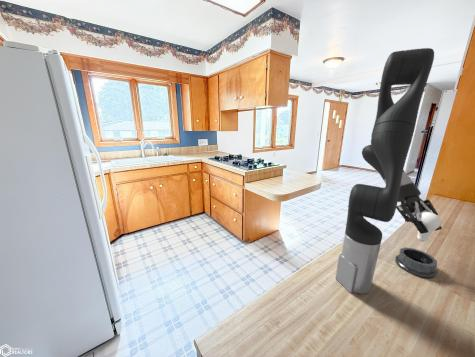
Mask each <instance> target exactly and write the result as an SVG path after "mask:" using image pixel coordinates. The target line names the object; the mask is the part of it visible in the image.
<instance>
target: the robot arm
mask: <svg viewBox="0 0 475 357" xmlns="http://www.w3.org/2000/svg"><path fill="white" fill-rule="evenodd" d="M434 60H435V50H434V49H433V48H431V47H430V48H429V47H425V48H414V49H413V48H412V49H406V50H396V51H392V52H391V53H390V54H389V55H388V57H387V59H386V61H385V62H384V66H383V70H382V75H381V81H380V87H379V92H378V100H377V110H376V116H375V121H374V123H373V124H374V125H373V128H372V132H371V136H370V137H371V139H370V144H368V145H365V146H364V147H363V148H362V151H361V155H362V158H363V160H364V161H365V162H366V163H367V164H369V165H370V166H371V167H372V168H373V169H375V171H377V172H378V173H379V176H380V177H381V179H382V180H383V181H384V184H385V187H380V186H375V185H371V184H370V185H369V184H364V183H356V184H354V185H353V186H352V188H351V190H350V193H349V197H348V206H347V216H346V224H345V230H344V231H345V232H344V237H343V244H342V250H341V254H339V255H338V260H337V267H336V273H335V280H337V281H338V283H340V284H341V285H342V286H343V287H344V288H345V290H347V291H348V292H349V293H350V294H352V293H355V294H360V295H364V294H368V293H369V292H370V291H371V290H372V289H371V288H372V284H373V279H374V275H375V270H376V266H377V261H378V258H379V254H380V253H379V252H380V249H381V244H382V241H383V233H382V230H381V229H380V228H379V227H378V226H376V225H375V224H374V223H371V222H370V221H368V220H367V218H368V219H372V220H376V221H379V222H383V223H389V222H390V221H391V220H393V218H394V215H395V213H396V210H397V211H398V213H400V215H401V216H402V218H403V220H404V221H405V222H407V223H411V224H413V225H414V227H415V228H416V230H417V232H418V231H419V232H420V233H421V234H423V233H428V230H427V228H426V227H425V225H424V224H423V223H422V221H421V219H420V216H419V215H420V213H421V212H432V213H434V214H436V215H437V216H438V215H439V213H438V212H437V210H436V208H435V206H434V205H433V204H432V202H431V201H430V199H425V200H423V199H422V198H421V197H420V196H421V195H422V192H421V190H420V189H419V188H418V187H417V185H416V184H415V182H414V181H413V179H412V178H411V177H410V176H409V175H408V174H407V173H406V171H405V170H404V168H405V165H406V160H407V157H408V153H409V150H410V148H411V147H410V146H411V144H412V141H413V136H414V132H415V130H416V125H417V124H416V123H417V119H418V115H419V109H420V104H421V102H422V97H423V94H424V92H425V89H426V86H427V82H428V79H429V76H430V73H431V71H432V67H433V63H434ZM405 85H407V86H408V85H410V86H409V87H408V89H407V91H406V92H405V93H404V94H403V95H402V96H401V97H400V98H399V99H398V100H397V101H396V102H395V103H394V101H393V97H392V86H405ZM398 203H400V204H398ZM415 217H416V218H415ZM442 228H443V227H442V226H441V225H440V226H439V227H438V228H437V229H436V230H434V231H435V232H436V231H440V230H442Z"/></svg>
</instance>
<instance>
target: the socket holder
mask: <svg viewBox="0 0 475 357" xmlns="http://www.w3.org/2000/svg"><path fill="white" fill-rule="evenodd" d="M394 261H395V264H396V265H397V266H398V267H399V268H401V270H403V271H405V272H407V273H408V274H410V275H413V276H415V277H418V278H422V279H427V280H429V279H434V278H437V275H438V270H437V266H438V261H437V259H435V258H434V257H433V256H432V255H431V254H429V253H427V252H425V251H423V250H419V249H417V248H413V247H401V248H400V250H399V254H398V255H396V256H395V260H394Z"/></svg>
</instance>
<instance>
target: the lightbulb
mask: <svg viewBox="0 0 475 357" xmlns="http://www.w3.org/2000/svg"><path fill="white" fill-rule="evenodd" d="M419 216H420V219H421V221H422V223H423V224H424V225H425V227H426V228H427V230H428V233H423V234H421V233H420V232H419V231H418V230H417V236H416V237H417V240H418V241H420V242H427V241H428V239H429V237H431V235H432V233H433V232H434V231H435V230H436V229H437V228H438V227H439V226H441V225H442V220H441V218H440V217H439V216H438V215H436V214H434V213H433V212H432V211H431V212H421V213H420V215H419ZM414 217H415V216H414ZM415 218H416V217H415ZM436 231H437V230H436Z"/></svg>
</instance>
